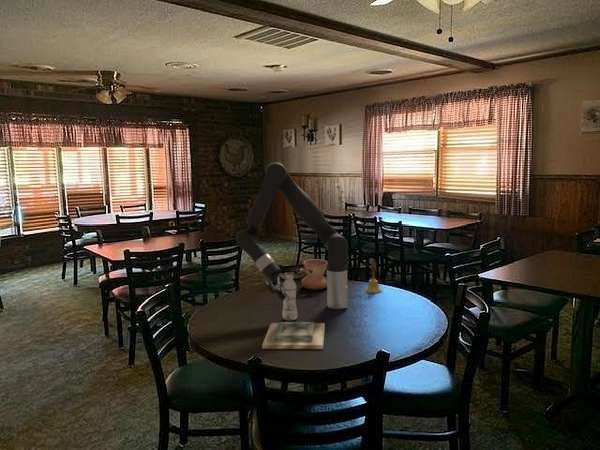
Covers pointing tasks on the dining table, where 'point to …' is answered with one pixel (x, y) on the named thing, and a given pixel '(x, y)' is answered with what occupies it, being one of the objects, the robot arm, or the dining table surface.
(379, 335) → the dining table surface
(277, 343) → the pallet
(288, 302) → the plastic bottle
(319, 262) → the ceramic jug
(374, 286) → the hand bell
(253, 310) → the dining table surface
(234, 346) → the dining table surface
